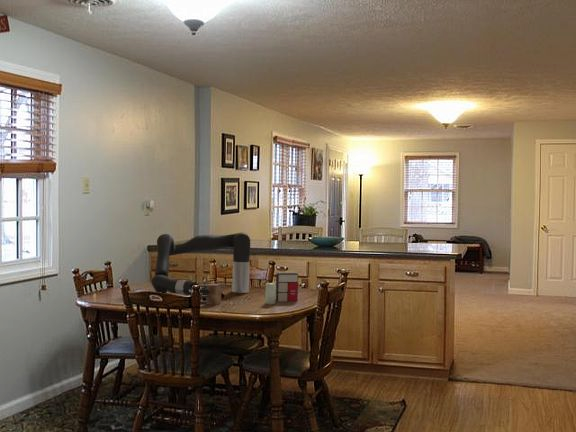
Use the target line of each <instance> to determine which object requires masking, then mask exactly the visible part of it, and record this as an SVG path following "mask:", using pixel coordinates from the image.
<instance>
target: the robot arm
mask: <svg viewBox="0 0 576 432" xmlns="http://www.w3.org/2000/svg"><path fill="white" fill-rule="evenodd" d="M156 247H157V254H156V255H157V257H156V263H155V271H154V276H153V277H152V278H151V281H150V282H151V285H152V287H153V289H154V291H155V292H156V293H157V292H162V293H165V294H167V292H168V293H171V294H177V295H178V294H179V295H182V296H189V295H190V294H191V292H192V286H193V285H198V286H200V294H199V295H202V294H203V295H207V294H209V293H210V290H209V289H207V285H208V284H198V283H197V282H198V281H196V280H188V279H173V278H171V277H170V276H169V272H170V256H176V255H182V254H190V253H204V252H206V253H207V252H213V251H218V250H221V249H222V250H223V249H230V248H231V249H233V250H232V252H233V253H232V254H233V255H232V285H231V286H232V288H231V291H232V293H236V294H247V293H249V292H250V291H249V289H250V262H251V261H250V258H251V238H250V236H249V235H248V234H247V233H246V232H241V231H240V232H236V233H232V234H223V235H222V234H201V235H196V236H194V237H192V238H191V239H189V240H187V241H186V242H183V243H177V244H175V242H174V238H173V236H172V235H171V234H168V233H162V234H160V235H159V236H158V237H157V239H156Z"/></svg>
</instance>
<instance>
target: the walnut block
mask: <svg viewBox="0 0 576 432" xmlns="http://www.w3.org/2000/svg"><path fill="white" fill-rule="evenodd" d="M206 285H207V289H209V290H210V293H209V294H206V305H210V306H211V305H213V306H217V305H221V304H222V284H221V283H220V284H219V283H209V284H206Z"/></svg>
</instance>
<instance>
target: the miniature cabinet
mask: <svg viewBox="0 0 576 432" xmlns="http://www.w3.org/2000/svg"><path fill="white" fill-rule="evenodd" d="M275 276H276V277H275V281H276V283H275V284H276V289H275V302H297V301H298V300H299V299H298V296H299V293H298V291H299V273H297V272H276V275H275Z"/></svg>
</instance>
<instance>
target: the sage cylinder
mask: <svg viewBox="0 0 576 432" xmlns="http://www.w3.org/2000/svg"><path fill="white" fill-rule="evenodd" d="M264 295H265V296H264V299H265V300H264V303H265V305H269V306H271V305H275V304H276V283H275V282H266V283H265V293H264Z"/></svg>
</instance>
